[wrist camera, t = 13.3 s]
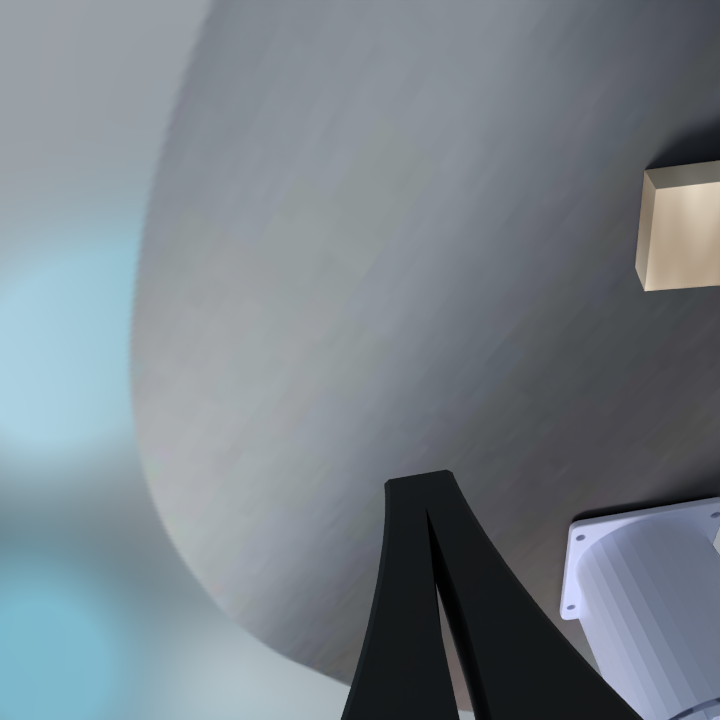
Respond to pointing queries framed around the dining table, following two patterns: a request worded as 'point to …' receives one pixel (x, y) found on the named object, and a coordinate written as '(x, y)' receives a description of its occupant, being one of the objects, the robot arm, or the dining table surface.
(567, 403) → the dining table surface
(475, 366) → the dining table surface
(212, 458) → the dining table surface
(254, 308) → the dining table surface
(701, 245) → the wooden block
